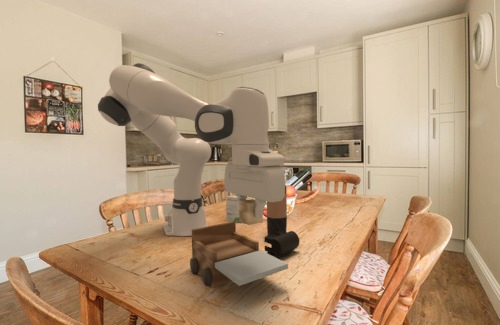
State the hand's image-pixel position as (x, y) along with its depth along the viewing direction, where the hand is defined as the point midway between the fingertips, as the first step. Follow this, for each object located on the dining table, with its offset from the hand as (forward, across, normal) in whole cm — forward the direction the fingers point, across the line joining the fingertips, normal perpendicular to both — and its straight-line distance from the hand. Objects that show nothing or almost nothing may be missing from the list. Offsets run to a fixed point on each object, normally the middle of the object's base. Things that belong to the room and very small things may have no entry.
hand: (251, 215), depth 64 cm
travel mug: (+19, -26, +30) cm, 44 cm away
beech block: (+2, 0, 0) cm, 2 cm away
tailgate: (+12, -6, 0) cm, 13 cm away
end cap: (+19, -13, +21) cm, 31 cm away
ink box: (+19, -57, +31) cm, 68 cm away
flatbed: (+18, -13, 0) cm, 23 cm away
